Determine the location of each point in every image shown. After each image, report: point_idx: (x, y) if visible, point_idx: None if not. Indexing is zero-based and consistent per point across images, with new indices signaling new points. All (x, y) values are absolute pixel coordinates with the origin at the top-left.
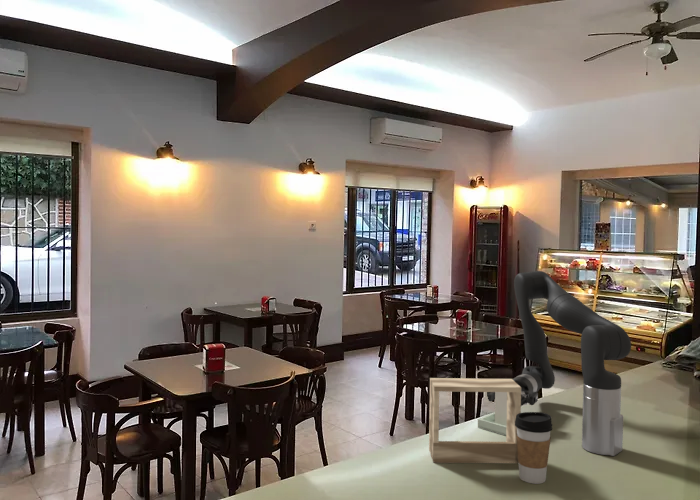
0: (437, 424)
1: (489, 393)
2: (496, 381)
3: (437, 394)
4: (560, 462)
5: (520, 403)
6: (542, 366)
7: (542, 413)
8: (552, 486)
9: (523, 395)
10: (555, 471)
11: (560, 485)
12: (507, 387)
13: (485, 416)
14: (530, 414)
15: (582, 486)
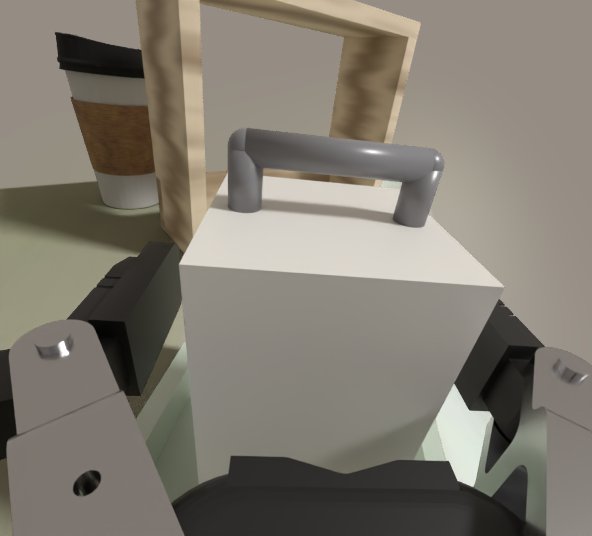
0: (333, 123)
1: (510, 316)
2: None
3: (345, 46)
4: (25, 254)
5: (141, 38)
6: None
7: (76, 36)
8: (93, 191)
9: (79, 345)
10: (65, 222)
11: (73, 195)
12: None
13: (432, 427)
14: (114, 51)
15: (17, 198)
